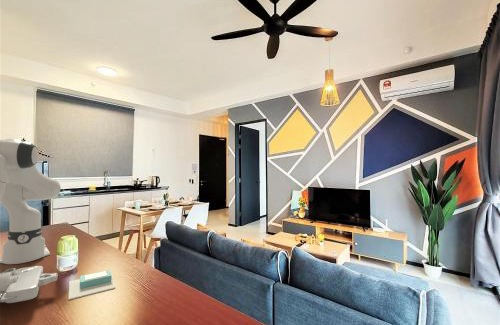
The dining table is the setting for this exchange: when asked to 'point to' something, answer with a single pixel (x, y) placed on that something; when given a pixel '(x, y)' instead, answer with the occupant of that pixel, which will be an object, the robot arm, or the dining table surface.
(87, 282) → the slab
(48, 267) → the dining table surface
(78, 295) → the mat
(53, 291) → the dining table surface
